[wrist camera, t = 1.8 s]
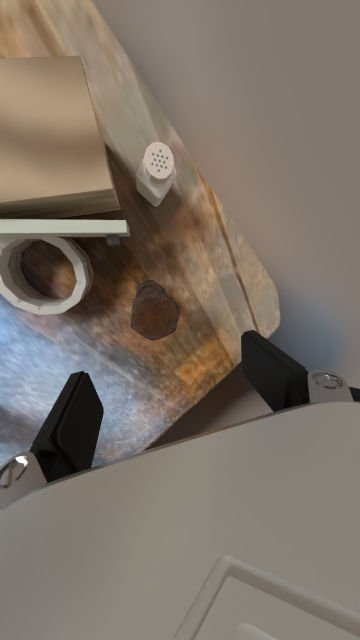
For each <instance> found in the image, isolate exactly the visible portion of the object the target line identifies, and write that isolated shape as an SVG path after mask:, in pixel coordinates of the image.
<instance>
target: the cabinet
mask: <svg viewBox="0 0 360 640" xmlns="http://www.w3.org/2000/svg"><path fill="white" fill-rule="evenodd" d="M114 210H121V209H120V205H119V200H118V196H117V192H116V188H115V184H114V180H113V176H112V172H111V168H110V164H109V160H108V156H107V152H106V148H105V144H104V140H103V137H102V134H101V131H100V128H99V125H98V122H97V119H96V116H95V112H94V108H93V104H92V100H91V96H90V92H89V88H88V84H87V80H86V76H85V72H84V68H83V64H82V61H81V58H80V56H62V57H32V58H1V59H0V219H35V220H50V219H57V218H64V217H72V216H79V215H86V214H93V213H100V212H107V211H114ZM63 238H65V239H67V240H69V241H70V242H71V243H72V244H73V245H74V247H75V248H76V249H77V250H78V252H79V253H80V254H81V255H82V257H83V258H84V259H85V261H86V264H87V269H88V274H89V279H90V281H89V285H88V287H87V290H86V292H85V295H86V294H87V293H88V292H89V291H90V289H91V285H92V281H93V276H94V274H93V273H94V272H93V269H92V266H91V263H90V260H89V257H88V255H87V253H86V252H85V251H84V250H83V249H82V248H81V247H80V246H79V245H78V244H77V243H76V242H75V241H74V240H73V239H71V238H69V237H63ZM41 240H42V239H26V240H25V241H23V242H22V243H20V244H19V245H17V246H16V247H14V248H13V249H12V251H11V255H10V258H9V262H8V268H9V271H10V274H11V277H12V279H13V282H14V284H15V285H17V286H18V287H19V288H20V289H21V290H22V291H23V292H24V293H25V294H26V295H27V296H28V297H31V298H33V299H36V300H39V301H41V302H44V303H55V302H64V301H65V300H67V299H68V298H70V297H66V298H61V299H56V298H52V297H48V296H45V295H41V294H40V293H39V292H38V291H36V290H35V289H34V288H33V287H31V286H30V285H29V284H28V283H27V281H26V279H25V277H24V275H23V273H22V271H21V269H20V265H21V256H22V252H23V251H24V250H25V249H26V248H27V247H28V246H29V245H30V244H31V243H32V242H34V241H41ZM85 295H84V296H85Z"/></svg>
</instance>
